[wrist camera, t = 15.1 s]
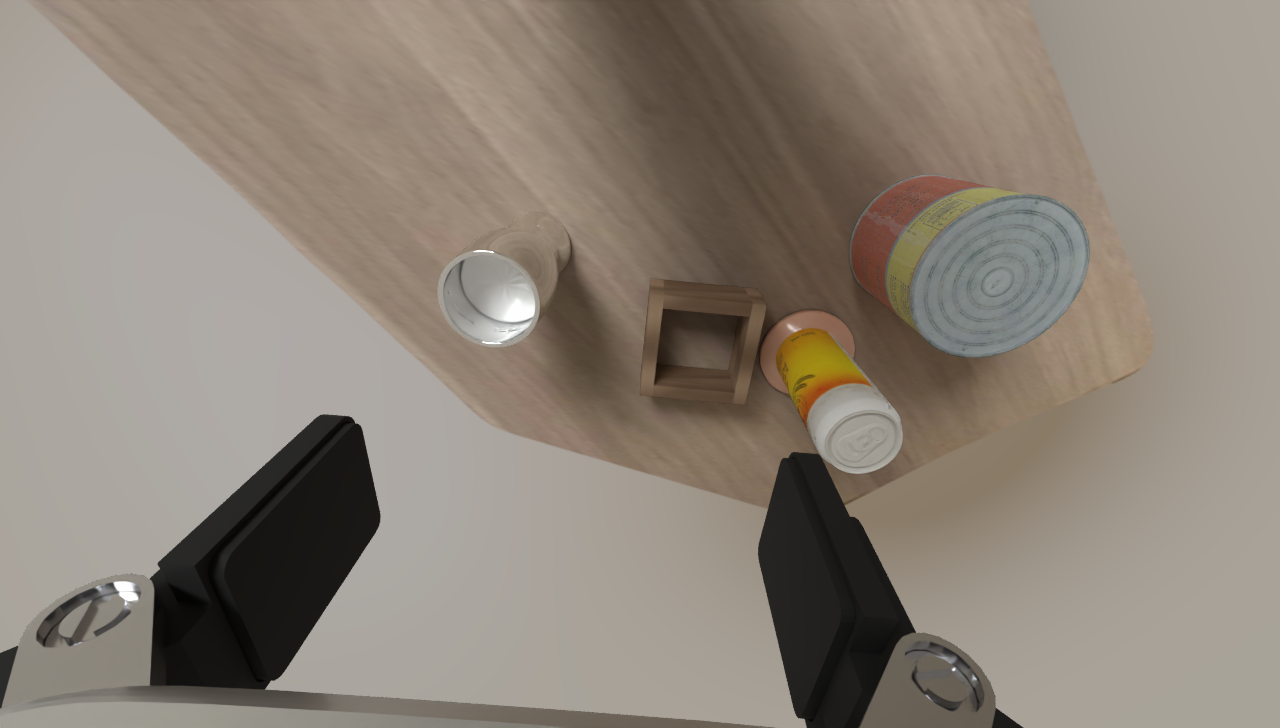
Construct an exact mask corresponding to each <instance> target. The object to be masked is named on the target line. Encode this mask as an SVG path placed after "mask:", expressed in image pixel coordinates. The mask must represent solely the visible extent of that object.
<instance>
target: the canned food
mask: <svg viewBox="0 0 1280 728" xmlns="http://www.w3.org/2000/svg"><path fill="white" fill-rule="evenodd" d="M1089 256H1090V248H1089V240H1088V236H1087V232H1086V229H1085V227H1084V225H1083V223H1082V222H1081V220H1080V219H1079V217H1078V216H1077V215H1076V214H1075V213H1074V212H1073V211H1072V210H1071V209H1070V208H1069V207H1067V206H1066V205H1064V204H1063V203H1061V202H1059V201H1057V200H1055V199H1052V198H1048V197H1045V196H1039V195H1032V194H1022V193H1017V192H1012V191H1008V190H1003V189H998V188H993V187H988V186H984V185H979V184H974V183H969V182H964V181H960V180H955V179H953V178H950V177H947V176H942V175H933V174H931V175H919V176H915V177H911V178H908V179H905V180H902V181H900V182H898V183H896V184H894V185H892V186H890V187H889V188H887V189H886V190H884V191H883V192H882V193H880V194H879V195H878V196H877V197H876V198H875V199H874V200H873V201H872V202H871V203H870V204H869V205H868V206H867V208H866V209H865V210H864V212H863V213H862V214H861V216H860V218H859V219H858V221H857V223H856V225H855V228H854V230H853V233H852V236H851V240H850V246H849V260H850V266H851V269H852V272H853V275H854V277H855V279H856V280H857V282H858V283H859V285H860V286H861V287H862V288H863V289H864V290H865V291H867V292H868V293H869V294H871V295H872V296H874V297H876V298H877V299H878V300H879V301H881V302H882V303H883V304H884V305H885V306H887V307H888V308H889V309H890V310H892V311H893V312H894V313H895V314H896V315H898V316H899V317H900V318H901V319H903V320H904V321H905V322H906V323H907V324H909V325H910V326H911V327H912V328H914V329H915V330H916V331H917V332H918V333H920V334H921V335H922V337H923V338H924V339H925V340H926V341H927V342H929V343H930V344H931V345H932V346H934V347H935V348H937V349H939V350H941V351H943V352H945V353H948V354H951V355H954V356H959V357H968V358H979V357H988V356H994V355H998V354H1002V353H1005V352H1008V351H1011V350H1013V349H1016V348H1018V347H1020V346H1022V345H1024V344H1026V343H1028V342H1030V341H1031V340H1033V339H1035V338H1036V337H1038V336H1039V335H1041V334H1042V333H1043V332H1045V331H1046V330H1047V329H1048V328H1050V327H1051V326H1052V325H1053V324H1054V323H1055V322H1056V321H1057V320H1058V319H1059V318H1060V317H1061V316H1062V315H1063V314H1064V313H1065V311H1066V310H1067V309H1068V308H1069V306H1070V305H1071V304H1072V302H1073V301H1074V299H1075V298H1076V296H1077V294H1078V293H1079V291H1080V288H1081V286H1082V284H1083V282H1084V279H1085V277H1086V273H1087V269H1088V264H1089Z"/></svg>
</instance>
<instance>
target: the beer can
mask: <svg viewBox="0 0 1280 728" xmlns="http://www.w3.org/2000/svg"><path fill="white" fill-rule="evenodd" d="M776 366H777V369H778V372H779V374H780V376H781V378H782V380H783V382H784V384H785V386H786V388H787V390H788V392H789V394H790V396H791V398H792V400H793V402H794V404H795V406H796V408H797V410H798V412H799V414H800V416H801V418H802V420H803V422H804V424H805V426H806V428H807V430H808V432H809V434H810V436H811V438H812V440H813V442H814V444H815V446H816V449H817V451H818V452H819V454H820V455H821V457H822V458H823V459H824V460H826V461H827V462H828V463H830V464H832V465H833V466H834V467H836V468H837V469H839V470H841V471H843V472H847V473H852V474H863V473H869V472H873V471H875V470H878V469H880V468H882V467H884V466H885V465H887V464H888V463H889V462H891V461H892V460H893V459H894V458H895V457H896V455H897V454H898V452H899V451H900V448H901V446H902V442H903V433H902V424H901V419H900V417H899V415H898V413H897V412H896V410H895V409H894V408H893V407H892V405H891V404H890V403H889V402H888V401H887V399H886V398H885V397H884V396H883V395H882V393H881V392H880V391H879V390H878V389H877V387H876V386H875V385H874V384H873V383H872V381H871V380H870V379H869V378H868V377H867V375H866V374H865V373H864V372H863V371H862V369H861V368H860V367H859V366H858V365H857V363H856V362H855V361H854V360H853V359H852V357H851V356H850V355H849V354H848V353H847V351H846V350H845V349H844V348H843V347H842V345H841V344H840V343H839V342H838V341H837V339H836V338H835V337H834V336H833V335H832V334H831V333H829V332H827V331H825V330H823V329H819V328H806V329H802V330H799V331H796V332H794V333H793V334H791V335H790V336H788V337H787V338H786V339H785V340H784V341H783V342H782V344H781V345H780V347H779V349H778V351H777V354H776Z"/></svg>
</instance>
